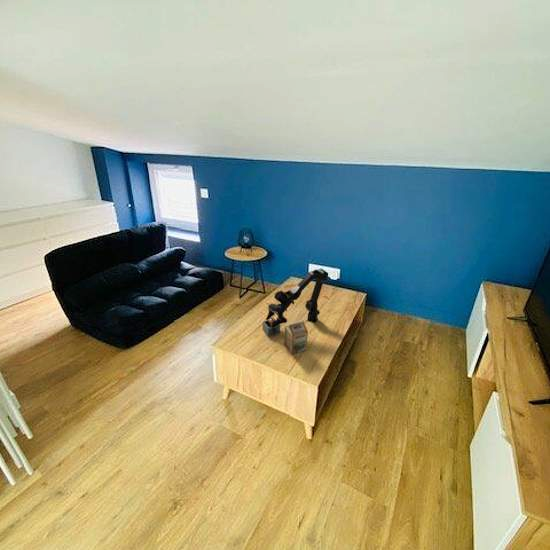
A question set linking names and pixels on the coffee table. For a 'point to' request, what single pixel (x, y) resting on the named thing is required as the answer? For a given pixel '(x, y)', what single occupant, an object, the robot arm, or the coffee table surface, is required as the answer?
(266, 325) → the press
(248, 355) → the coffee table surface
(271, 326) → the plunger
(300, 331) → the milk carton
